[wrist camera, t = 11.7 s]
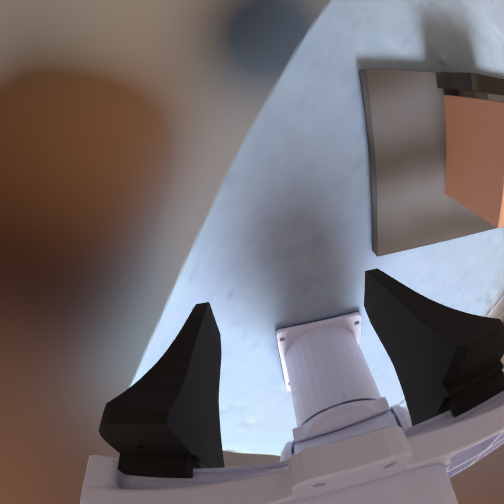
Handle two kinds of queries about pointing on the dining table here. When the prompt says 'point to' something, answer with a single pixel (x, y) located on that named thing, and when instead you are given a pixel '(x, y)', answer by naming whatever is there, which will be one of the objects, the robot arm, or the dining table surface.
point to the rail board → (416, 156)
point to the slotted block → (475, 155)
